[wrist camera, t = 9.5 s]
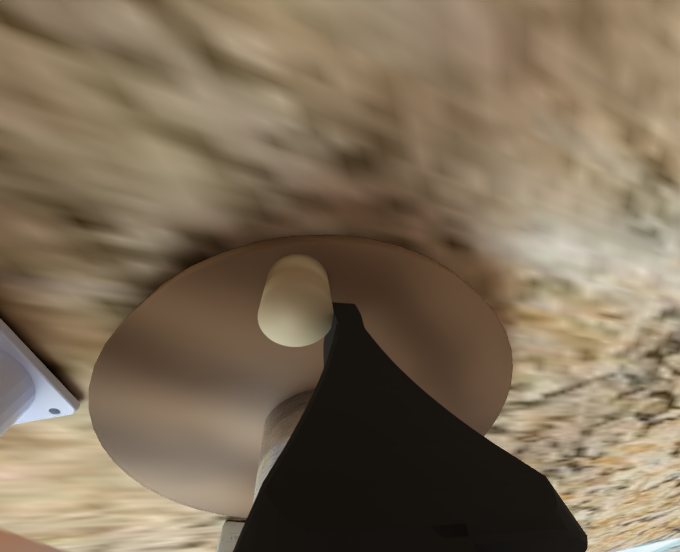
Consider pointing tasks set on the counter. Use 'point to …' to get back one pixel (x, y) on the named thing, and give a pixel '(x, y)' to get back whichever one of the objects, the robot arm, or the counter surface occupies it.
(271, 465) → the aluminium cover
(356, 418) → the robot arm
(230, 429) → the turntable top
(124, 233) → the counter surface
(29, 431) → the counter surface
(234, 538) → the supplement box
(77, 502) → the counter surface
